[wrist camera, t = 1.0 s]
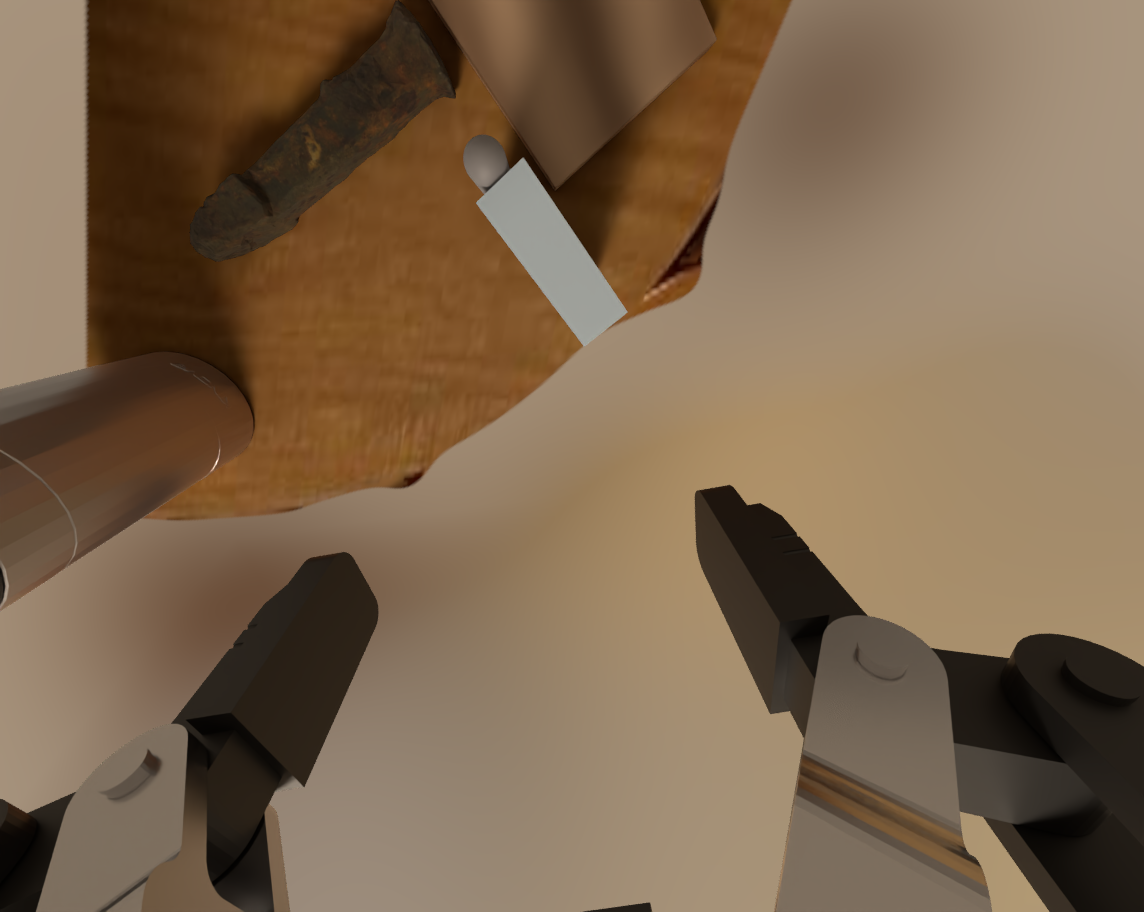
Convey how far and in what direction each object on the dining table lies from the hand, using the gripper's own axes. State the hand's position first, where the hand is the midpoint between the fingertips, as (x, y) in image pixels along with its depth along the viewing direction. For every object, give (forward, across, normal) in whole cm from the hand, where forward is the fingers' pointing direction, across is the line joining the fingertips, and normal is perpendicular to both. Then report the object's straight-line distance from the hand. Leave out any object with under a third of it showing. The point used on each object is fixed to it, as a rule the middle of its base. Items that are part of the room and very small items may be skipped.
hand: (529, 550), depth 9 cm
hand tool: (+26, -11, +12) cm, 30 cm away
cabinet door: (+25, +2, +5) cm, 26 cm away
